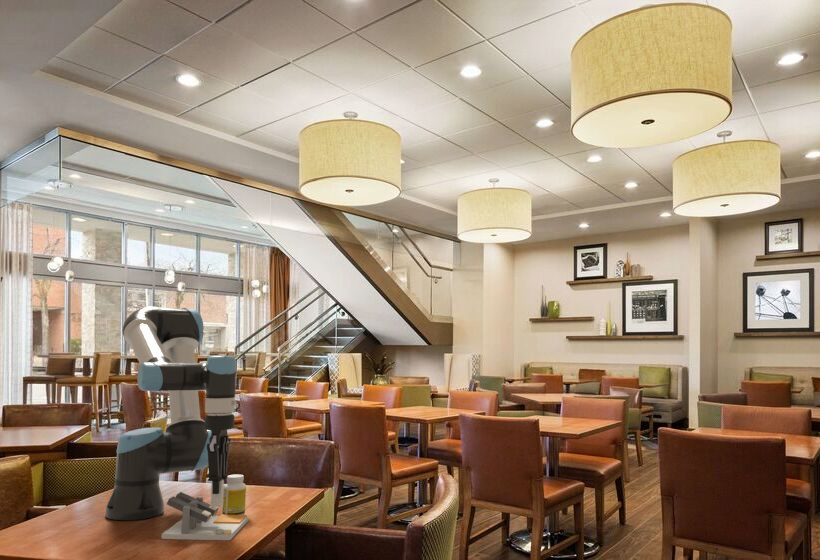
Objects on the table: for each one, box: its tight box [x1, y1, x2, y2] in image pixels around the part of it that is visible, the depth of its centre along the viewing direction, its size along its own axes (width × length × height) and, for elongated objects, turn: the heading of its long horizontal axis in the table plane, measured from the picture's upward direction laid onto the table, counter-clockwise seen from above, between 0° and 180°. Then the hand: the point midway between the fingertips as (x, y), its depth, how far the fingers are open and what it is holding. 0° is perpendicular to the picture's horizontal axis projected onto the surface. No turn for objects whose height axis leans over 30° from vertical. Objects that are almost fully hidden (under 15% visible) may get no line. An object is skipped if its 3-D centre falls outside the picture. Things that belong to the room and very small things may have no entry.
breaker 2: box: [175, 491, 220, 516], centre depth 160 cm, size 11×3×2 cm, turn 89°
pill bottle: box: [222, 473, 247, 515], centre depth 174 cm, size 6×6×11 cm
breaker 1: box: [166, 496, 212, 523], centre depth 155 cm, size 11×3×2 cm, turn 88°
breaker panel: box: [161, 496, 250, 541], centre depth 160 cm, size 17×18×8 cm
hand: (217, 505), depth 160 cm, fingers closed
